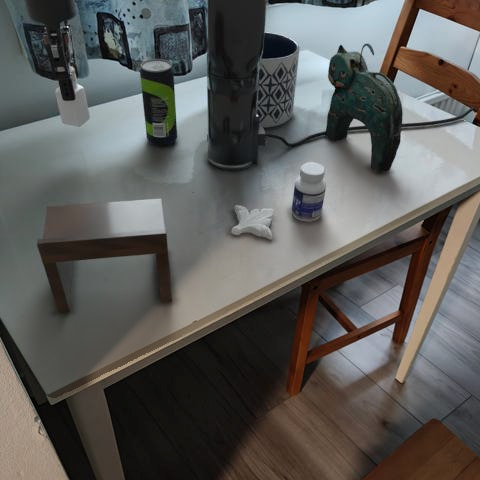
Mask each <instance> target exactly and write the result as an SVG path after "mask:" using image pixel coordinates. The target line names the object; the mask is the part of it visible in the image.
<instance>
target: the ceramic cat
mask: <svg viewBox="0 0 480 480" xmlns="http://www.w3.org/2000/svg"><path fill="white" fill-rule="evenodd" d="M366 47H367V48H368V49H369V50H370V53H371V54H372V56H375V52H374V48H373V46H372V44H370V43H364V44H363V45H362V48H361V51H360V52H359V51H354V50H353V51H347V50H346V49H345V47H344V45H342V44H340V45H339V47H338V48H337V53H335V54H334V55H332V56H331V57H330V61H329V64H328V71H327V72H328V73H327V79H328V81H329V83H330V84H331V85H332V86H333V87H334V91H333V93H332V96H331V100H330V104H329V109H328V111H327V115H326V116H327V118H326V127H325V131H326V135H325V137H327V138H328V139H329V140H330V141H333V142H336V141H342V140H345V139H347V138H348V135H349V131H348V129H349V127H351V126H350V125H351V124H352V122H353V121H354V120H357V121H359V122H361V123H362V124H363V126H366V127H367V129H366V130H368V133H369V136H370V144H371V150H370V151H371V153H370V154H371V156H370V169H371V170H372V171H373V172H375V173H377V174H383V173H385V172H389V171H390V170H391V168H392V166H393V163H394V161H395V158H396V155H397V152H398V150H399V147H400V145H401V138H402V137H401V135H402V128H403V127H402V124H403V116H404V115H403V105H402V100H401V97H400V95H399V92H398V90H397V88H396V85H395V84H394V83H393V81H392V80H391V79H390V78H389V77H388V76H387V75H385V74H384V73H381V72H375V71H370V70H369V69H368V65H367V62H366V59H365V57H364V56H363V51H364V48H366Z"/></svg>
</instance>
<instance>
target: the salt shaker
mask: <svg viewBox="0 0 480 480" xmlns="http://www.w3.org/2000/svg"><path fill="white" fill-rule="evenodd" d="M58 70H59V71H65V69H64V68H63V67H58ZM70 70H71V73H72V82H73V87H74V92H75V100H74V101H64V100H63V99H62V95H61V91H60V87H59V86H58V87H57V88H56V89H55V92H54V95H55V99H56V102H57V103H56V104H57V107H58V111H59V115H60V120H61V123H62V124H63V125H66V126H73V127H78V128H80V127H82V126H83V125H85V123H87V122H88V121H89V120H90V117H91V115H90V109H89V106H88V99H87V96H86V90H85V88H84V86H82V85H81V84H78V82H77V74H76V69H75V67H74V66H73V67H72V66H70Z"/></svg>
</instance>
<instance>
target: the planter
mask: <svg viewBox="0 0 480 480" xmlns="http://www.w3.org/2000/svg"><path fill="white" fill-rule="evenodd" d="M299 58H300V45H299V43H298V42H297V41H296V40H295V39H293V38H291V37H289V36H287V35H284V34H280V33H277V32H276V33H275V32H269V31H265V33H264V46H263V54H262V57H261V60H260V71H259V89H258V108H257V112H258V115H259V117H260V123H262V126H263V128H264V129H267V128H274V127H277V126H280V125H283V124H285V123H286V122H288V121H289V120H290V119H291V118H292V116H293V113H294V105H295V96H296V87H297V78H298V77H297V76H298V68H299Z"/></svg>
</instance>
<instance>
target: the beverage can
mask: <svg viewBox="0 0 480 480" xmlns="http://www.w3.org/2000/svg"><path fill="white" fill-rule="evenodd" d="M172 66H173V64H172V63H171V61H169V60H167V59H163V58H150V59H146V60H144V61H142V62H141V63H140V70H139V75H140V76H139V78H140V86H141V95H142V105H143V111H144V112H143V115H144V124H145V134H146V135H145V136H146V140H147V141H148V142H150V144H151V145H153V146H156V147H167V146H168V147H169V146H172V145H173V144H174V143H175V142H176V140H177V139H178V126H177V125H178V124H177V108H176V91H175V89H176V88H175V75H174V68H173V67H172Z"/></svg>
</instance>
